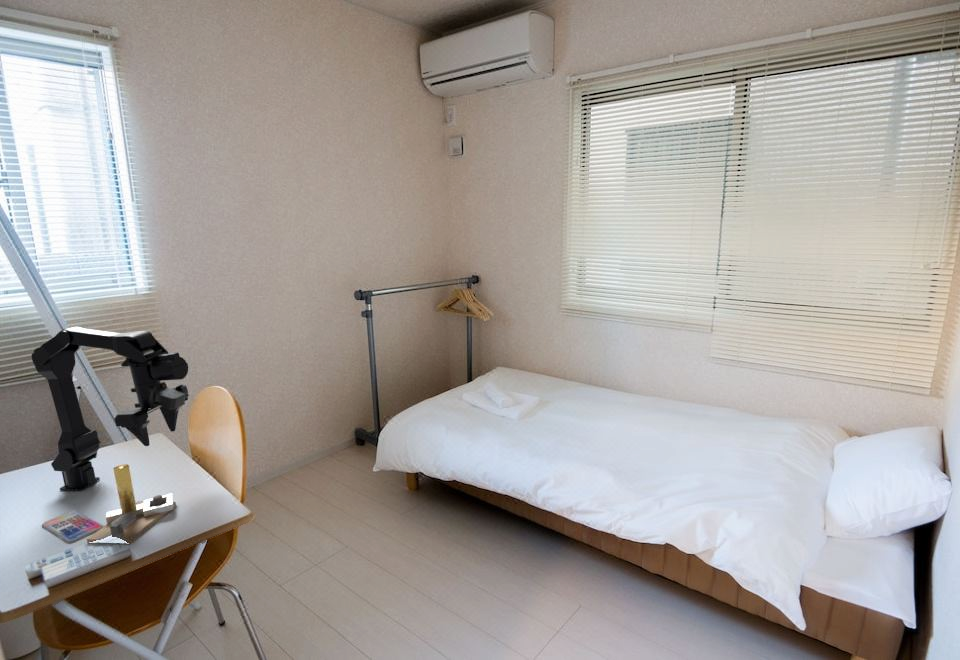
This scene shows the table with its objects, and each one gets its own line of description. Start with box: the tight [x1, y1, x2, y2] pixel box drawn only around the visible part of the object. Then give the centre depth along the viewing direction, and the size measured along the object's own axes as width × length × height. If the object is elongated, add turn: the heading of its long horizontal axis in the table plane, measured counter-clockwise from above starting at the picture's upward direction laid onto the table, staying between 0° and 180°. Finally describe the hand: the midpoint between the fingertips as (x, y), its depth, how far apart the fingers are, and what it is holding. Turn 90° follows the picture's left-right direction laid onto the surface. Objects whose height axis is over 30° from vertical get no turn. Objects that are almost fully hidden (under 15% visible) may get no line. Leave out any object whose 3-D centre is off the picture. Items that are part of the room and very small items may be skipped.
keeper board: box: [86, 494, 177, 545], centre depth 124 cm, size 10×16×4 cm, turn 175°
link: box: [105, 463, 174, 524], centre depth 125 cm, size 14×6×12 cm, turn 120°
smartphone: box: [41, 510, 105, 544], centre depth 123 cm, size 7×1×15 cm
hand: (160, 438), depth 136 cm, fingers open, 9 cm apart
